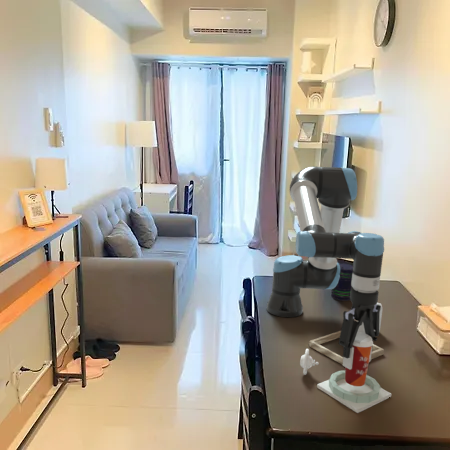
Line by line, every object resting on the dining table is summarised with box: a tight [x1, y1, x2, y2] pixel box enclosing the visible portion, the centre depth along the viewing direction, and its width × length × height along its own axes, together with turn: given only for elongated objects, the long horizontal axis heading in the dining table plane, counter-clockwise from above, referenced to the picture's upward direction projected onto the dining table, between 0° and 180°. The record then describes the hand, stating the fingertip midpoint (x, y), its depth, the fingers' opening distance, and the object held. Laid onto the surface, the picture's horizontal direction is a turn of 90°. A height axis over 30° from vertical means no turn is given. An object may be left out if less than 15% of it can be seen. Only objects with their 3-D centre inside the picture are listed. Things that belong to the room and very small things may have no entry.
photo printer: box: [358, 302, 384, 333], centre depth 175 cm, size 10×4×12 cm, turn 123°
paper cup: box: [344, 332, 374, 386], centre depth 133 cm, size 8×8×14 cm
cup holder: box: [316, 369, 392, 414], centre depth 135 cm, size 15×15×3 cm
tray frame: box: [308, 330, 385, 366], centre depth 161 cm, size 18×18×2 cm
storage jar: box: [330, 262, 353, 302], centre depth 213 cm, size 10×10×15 cm
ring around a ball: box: [299, 348, 319, 376], centre depth 144 cm, size 8×6×8 cm
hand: (356, 363), depth 133 cm, fingers closed on paper cup, 8 cm apart
